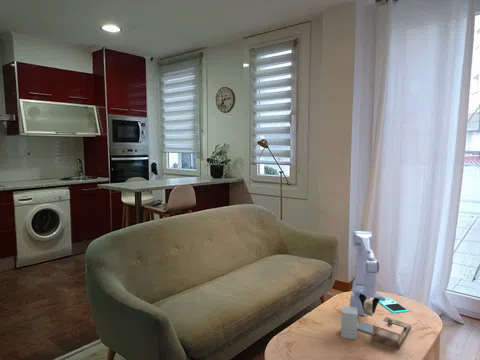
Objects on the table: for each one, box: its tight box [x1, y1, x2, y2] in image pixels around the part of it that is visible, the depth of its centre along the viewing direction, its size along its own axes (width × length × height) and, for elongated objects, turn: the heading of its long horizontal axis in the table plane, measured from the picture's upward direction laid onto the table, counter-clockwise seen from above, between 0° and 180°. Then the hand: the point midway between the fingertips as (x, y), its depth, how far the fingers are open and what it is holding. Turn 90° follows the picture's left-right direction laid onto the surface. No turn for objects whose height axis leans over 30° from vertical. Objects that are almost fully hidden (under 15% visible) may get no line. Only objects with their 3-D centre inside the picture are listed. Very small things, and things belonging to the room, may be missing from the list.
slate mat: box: [357, 321, 373, 336], centre depth 169 cm, size 8×8×1 cm
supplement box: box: [340, 305, 359, 341], centre depth 162 cm, size 7×7×13 cm
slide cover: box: [372, 317, 405, 344], centre depth 158 cm, size 12×7×7 cm, turn 51°
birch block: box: [363, 299, 375, 317], centre depth 167 cm, size 4×4×6 cm
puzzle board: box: [371, 316, 412, 350], centre depth 164 cm, size 12×22×2 cm, turn 141°
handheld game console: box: [378, 297, 409, 314], centre depth 192 cm, size 10×16×1 cm, turn 13°
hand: (368, 310), depth 167 cm, fingers closed on birch block, 4 cm apart
